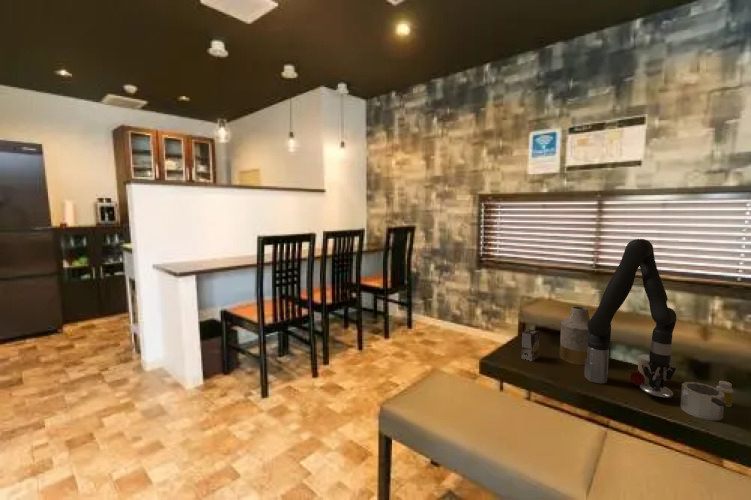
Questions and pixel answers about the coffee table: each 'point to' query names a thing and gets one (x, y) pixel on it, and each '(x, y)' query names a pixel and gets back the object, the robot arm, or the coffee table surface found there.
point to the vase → (575, 336)
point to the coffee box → (530, 344)
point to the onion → (637, 378)
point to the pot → (702, 401)
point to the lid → (657, 388)
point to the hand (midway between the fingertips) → (656, 386)
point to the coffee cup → (643, 360)
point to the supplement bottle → (726, 392)
